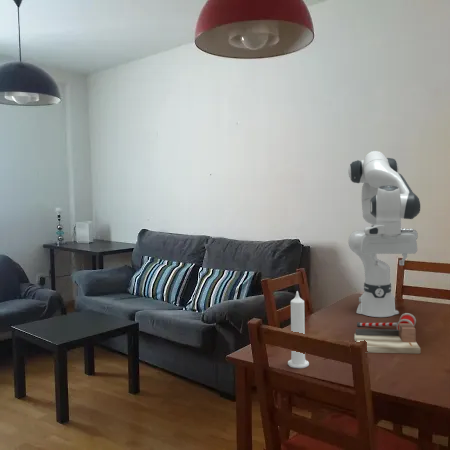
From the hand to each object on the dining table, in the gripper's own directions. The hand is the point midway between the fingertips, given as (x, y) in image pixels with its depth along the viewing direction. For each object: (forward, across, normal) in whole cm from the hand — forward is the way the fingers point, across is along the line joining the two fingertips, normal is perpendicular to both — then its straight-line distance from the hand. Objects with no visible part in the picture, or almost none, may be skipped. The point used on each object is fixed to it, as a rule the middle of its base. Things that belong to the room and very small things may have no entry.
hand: (388, 265), depth 187 cm
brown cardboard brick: (+27, -6, +4) cm, 28 cm away
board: (+29, +2, +6) cm, 30 cm away
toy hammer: (+30, -4, -15) cm, 33 cm away
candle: (+29, +34, +28) cm, 53 cm away
